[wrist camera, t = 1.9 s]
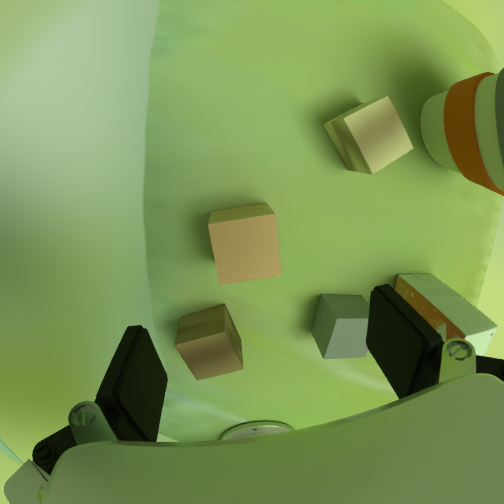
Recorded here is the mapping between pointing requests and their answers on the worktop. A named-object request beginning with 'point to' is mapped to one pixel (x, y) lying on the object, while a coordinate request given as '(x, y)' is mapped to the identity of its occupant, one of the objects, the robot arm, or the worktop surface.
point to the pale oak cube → (369, 136)
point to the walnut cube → (209, 343)
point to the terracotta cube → (245, 243)
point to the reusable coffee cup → (468, 129)
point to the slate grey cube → (341, 326)
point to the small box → (446, 310)
